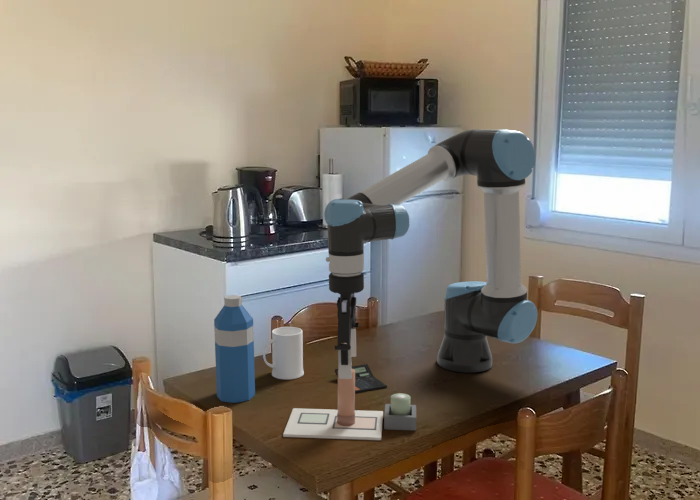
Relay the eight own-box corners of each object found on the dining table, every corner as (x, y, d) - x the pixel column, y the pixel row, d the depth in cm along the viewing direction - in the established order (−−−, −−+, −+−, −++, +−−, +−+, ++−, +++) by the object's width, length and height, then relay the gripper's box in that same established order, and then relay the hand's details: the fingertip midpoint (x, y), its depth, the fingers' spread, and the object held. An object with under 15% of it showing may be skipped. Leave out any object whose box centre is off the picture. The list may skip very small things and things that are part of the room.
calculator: (353, 394, 178) (353, 383, 177) (334, 379, 188) (334, 368, 188) (386, 388, 182) (387, 377, 181) (366, 374, 192) (366, 363, 192)
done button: (410, 410, 162) (410, 393, 161) (410, 418, 158) (410, 400, 157) (390, 409, 162) (391, 392, 162) (390, 417, 158) (390, 400, 157)
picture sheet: (383, 413, 166) (383, 410, 166) (381, 440, 152) (381, 437, 152) (293, 410, 167) (293, 407, 167) (283, 436, 154) (283, 433, 153)
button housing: (415, 417, 164) (416, 404, 163) (416, 430, 157) (416, 417, 156) (385, 416, 164) (385, 403, 164) (384, 429, 157) (384, 416, 157)
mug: (270, 384, 184) (269, 339, 181) (255, 374, 191) (254, 331, 188) (309, 375, 190) (309, 332, 188) (294, 366, 197) (293, 324, 195)
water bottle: (218, 389, 181) (215, 292, 176) (255, 387, 181) (253, 292, 177) (214, 403, 171) (211, 302, 167) (254, 402, 172) (251, 301, 168)
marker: (355, 418, 161) (356, 362, 159) (354, 426, 157) (355, 368, 155) (337, 418, 161) (338, 362, 159) (336, 425, 158) (336, 368, 155)
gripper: (334, 260, 166) (336, 347, 170) (322, 286, 141) (324, 388, 145) (366, 260, 165) (367, 348, 169) (360, 286, 141) (361, 388, 145)
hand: (347, 366), depth 157 cm, fingers open, 13 cm apart
